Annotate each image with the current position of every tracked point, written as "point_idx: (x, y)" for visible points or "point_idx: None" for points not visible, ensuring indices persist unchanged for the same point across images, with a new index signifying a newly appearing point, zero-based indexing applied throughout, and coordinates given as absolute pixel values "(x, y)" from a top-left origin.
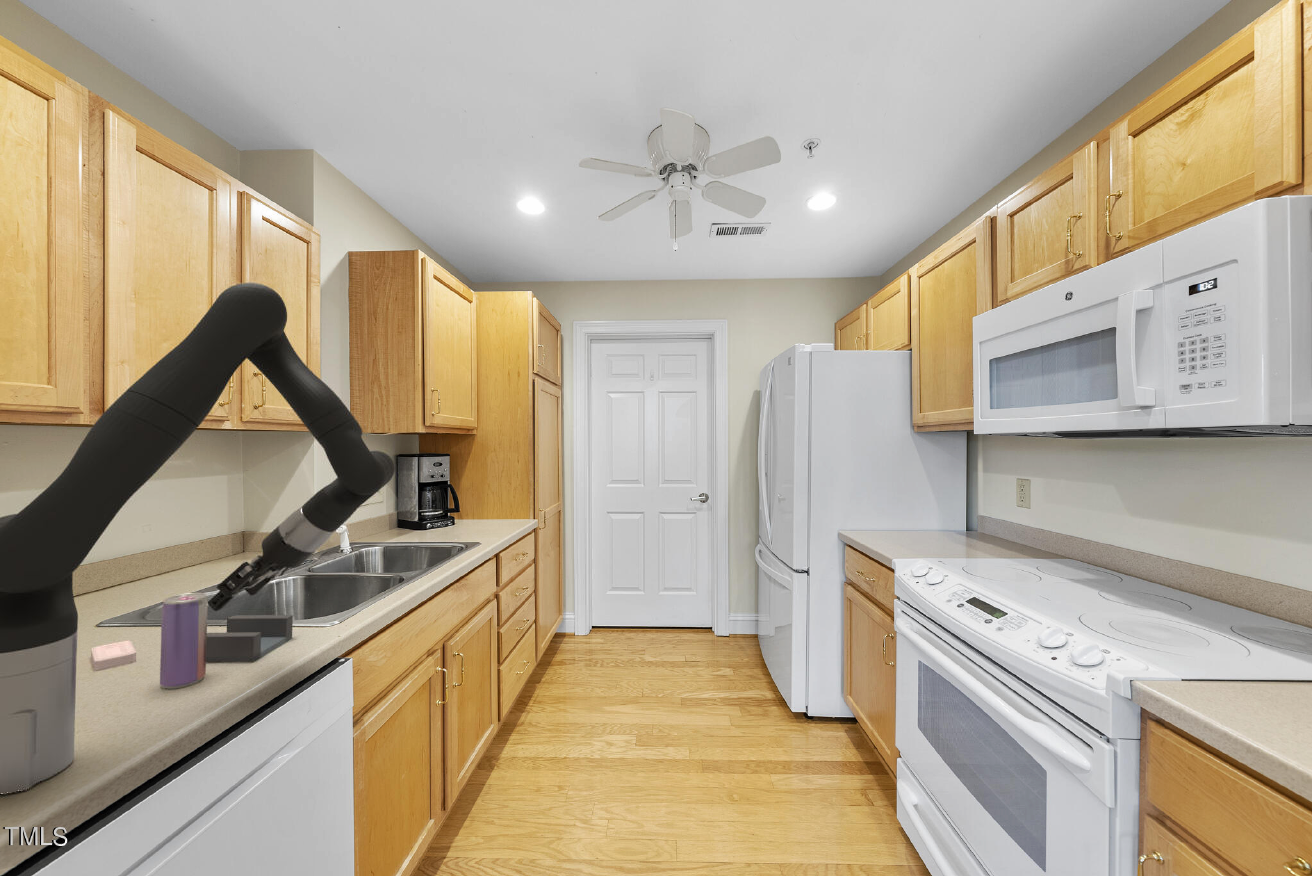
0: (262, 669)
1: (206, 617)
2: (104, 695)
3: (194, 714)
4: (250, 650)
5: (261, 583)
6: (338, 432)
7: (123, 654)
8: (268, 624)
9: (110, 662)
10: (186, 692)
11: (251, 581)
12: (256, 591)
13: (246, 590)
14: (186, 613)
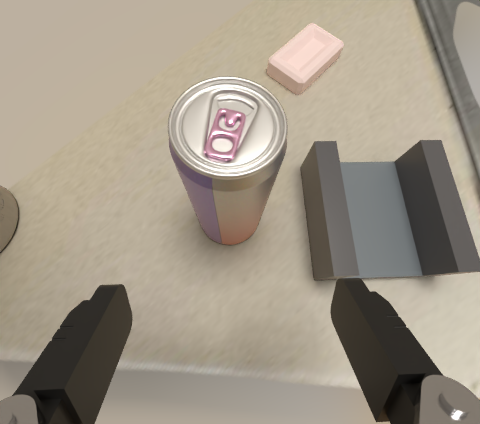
0: (283, 324)
1: (249, 206)
2: None
3: None
4: (321, 271)
5: (366, 379)
6: None
7: (291, 75)
8: (434, 230)
9: (278, 74)
10: (190, 253)
11: (360, 318)
12: (341, 340)
13: (336, 289)
14: (186, 181)
